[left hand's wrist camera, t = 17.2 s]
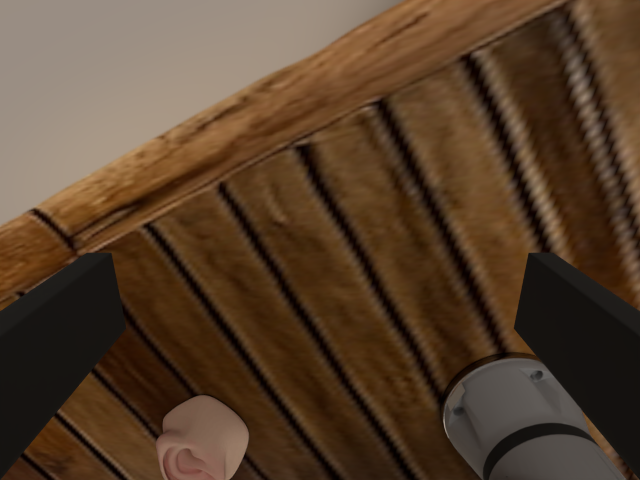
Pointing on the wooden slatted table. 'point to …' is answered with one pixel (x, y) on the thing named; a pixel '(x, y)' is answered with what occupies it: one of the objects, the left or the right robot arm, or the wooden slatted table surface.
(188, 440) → the anatomical model
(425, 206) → the wooden slatted table surface
